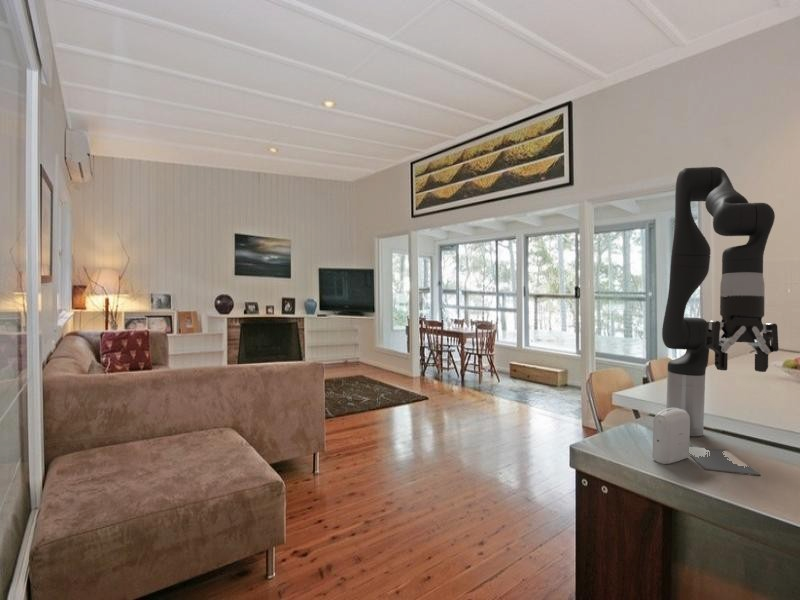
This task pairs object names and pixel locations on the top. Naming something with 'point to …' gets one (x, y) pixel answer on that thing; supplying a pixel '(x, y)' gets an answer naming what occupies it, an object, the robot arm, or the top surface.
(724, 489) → the top surface
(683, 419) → the photo printer
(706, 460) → the charcoal mat
